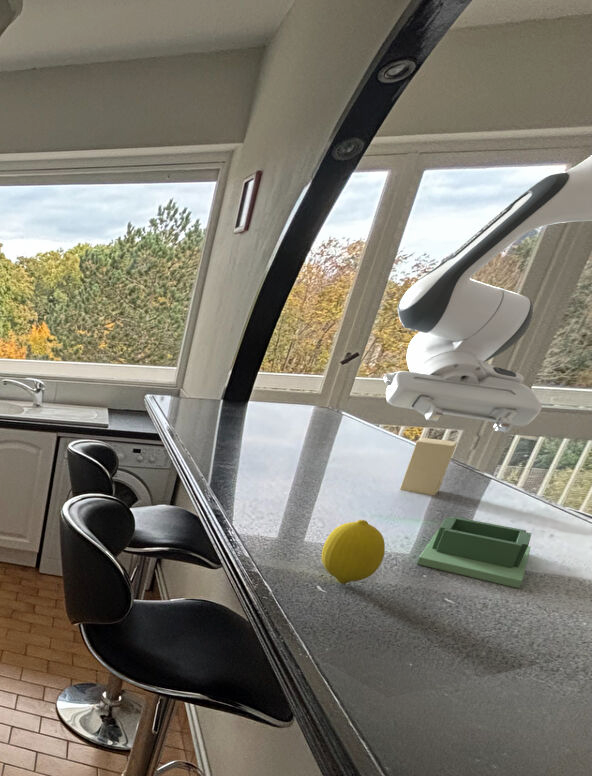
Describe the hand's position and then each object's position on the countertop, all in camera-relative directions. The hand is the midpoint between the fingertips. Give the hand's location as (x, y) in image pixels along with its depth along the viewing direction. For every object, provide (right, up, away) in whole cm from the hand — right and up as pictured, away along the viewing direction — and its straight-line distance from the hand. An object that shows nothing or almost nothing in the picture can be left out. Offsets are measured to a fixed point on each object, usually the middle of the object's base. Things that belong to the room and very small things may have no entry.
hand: (469, 422), depth 97 cm
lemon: (-43, -25, -27) cm, 57 cm away
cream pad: (-6, -13, +3) cm, 14 cm away
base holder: (-20, -22, -20) cm, 36 cm away
